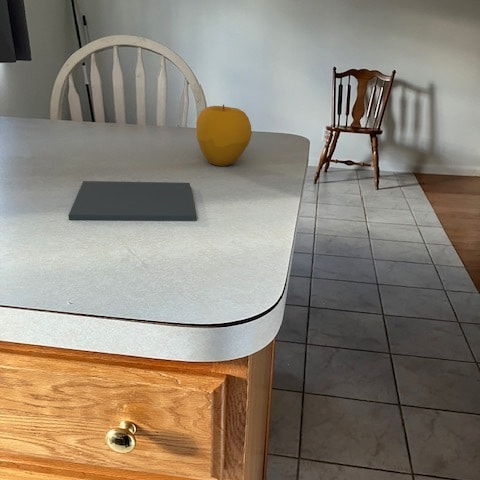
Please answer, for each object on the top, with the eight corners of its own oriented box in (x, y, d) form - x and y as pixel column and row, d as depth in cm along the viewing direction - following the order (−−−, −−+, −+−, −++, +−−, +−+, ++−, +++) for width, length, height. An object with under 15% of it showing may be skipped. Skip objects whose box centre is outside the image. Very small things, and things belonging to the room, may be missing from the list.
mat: (68, 220, 59) (68, 214, 59) (83, 185, 71) (83, 180, 71) (196, 220, 61) (196, 215, 61) (189, 186, 73) (189, 182, 73)
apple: (259, 163, 88) (263, 105, 83) (229, 173, 81) (232, 110, 77) (216, 155, 91) (217, 99, 87) (184, 163, 85) (185, 103, 81)
